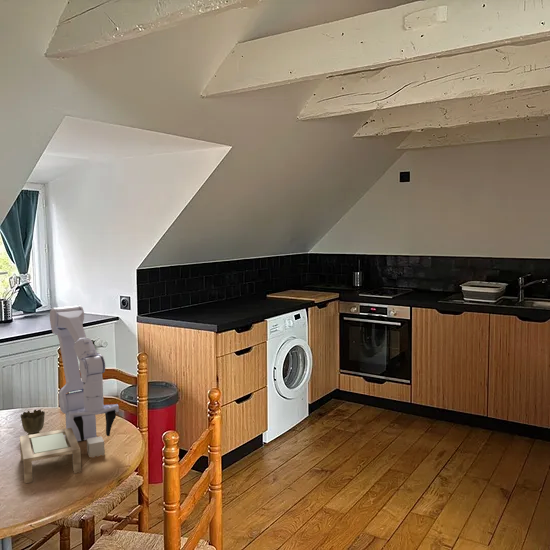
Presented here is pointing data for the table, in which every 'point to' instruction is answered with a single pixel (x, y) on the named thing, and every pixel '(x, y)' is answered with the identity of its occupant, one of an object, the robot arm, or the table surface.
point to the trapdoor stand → (29, 456)
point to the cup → (33, 421)
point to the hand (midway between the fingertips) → (95, 437)
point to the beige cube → (95, 446)
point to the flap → (48, 443)
